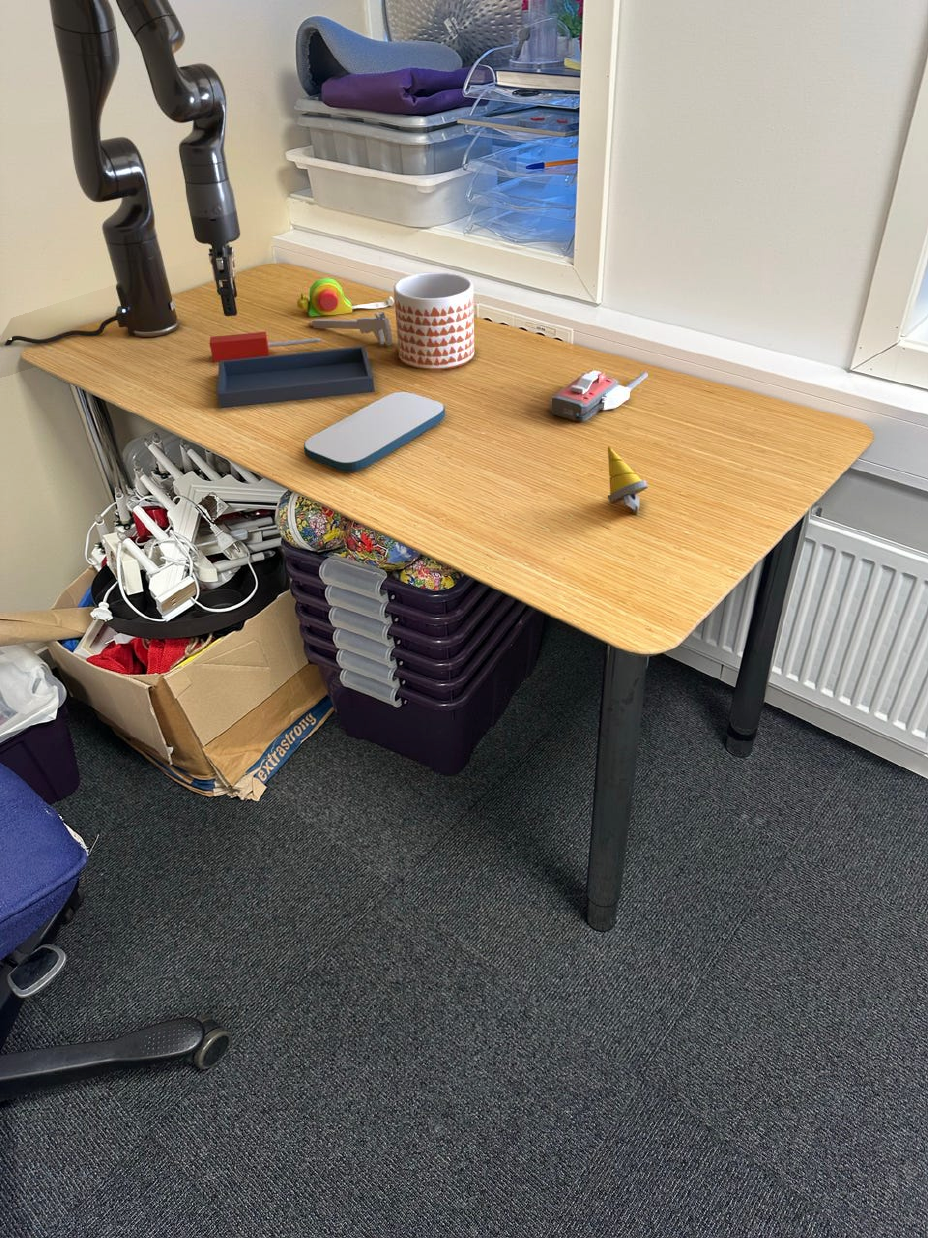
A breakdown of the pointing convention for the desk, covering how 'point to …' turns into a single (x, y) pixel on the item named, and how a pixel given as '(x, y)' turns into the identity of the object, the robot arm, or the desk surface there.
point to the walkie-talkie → (591, 396)
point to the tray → (294, 377)
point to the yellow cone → (624, 482)
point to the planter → (434, 320)
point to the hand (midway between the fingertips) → (231, 306)
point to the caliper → (360, 326)
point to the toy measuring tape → (332, 300)
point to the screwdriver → (247, 345)
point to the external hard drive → (374, 431)
